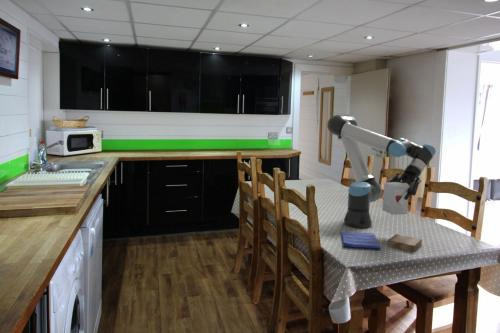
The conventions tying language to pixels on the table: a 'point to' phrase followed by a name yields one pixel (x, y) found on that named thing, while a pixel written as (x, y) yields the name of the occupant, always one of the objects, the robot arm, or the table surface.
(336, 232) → the table surface
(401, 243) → the walnut stand
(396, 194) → the supplement box
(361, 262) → the table surface
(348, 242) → the dish towel
